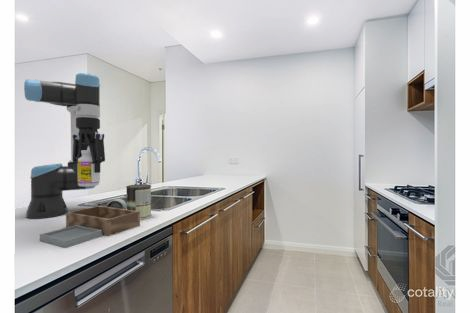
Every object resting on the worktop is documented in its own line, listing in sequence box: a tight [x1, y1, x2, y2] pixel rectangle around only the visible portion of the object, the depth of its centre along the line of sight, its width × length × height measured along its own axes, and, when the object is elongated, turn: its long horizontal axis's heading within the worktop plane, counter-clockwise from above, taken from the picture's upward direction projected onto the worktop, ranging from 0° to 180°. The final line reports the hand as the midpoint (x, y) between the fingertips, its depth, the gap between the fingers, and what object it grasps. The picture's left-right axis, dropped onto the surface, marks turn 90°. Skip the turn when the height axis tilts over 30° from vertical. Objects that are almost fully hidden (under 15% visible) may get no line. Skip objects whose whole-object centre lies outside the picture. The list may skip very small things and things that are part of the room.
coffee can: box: [125, 183, 152, 221], centre depth 111 cm, size 10×10×14 cm
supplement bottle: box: [78, 150, 100, 187], centre depth 90 cm, size 7×7×13 cm
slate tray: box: [39, 225, 103, 249], centre depth 84 cm, size 14×12×2 cm
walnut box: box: [65, 205, 141, 237], centre depth 98 cm, size 24×14×6 cm, turn 64°
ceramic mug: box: [105, 198, 127, 210], centre depth 114 cm, size 11×8×8 cm
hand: (88, 181), depth 90 cm, fingers closed on supplement bottle, 7 cm apart
